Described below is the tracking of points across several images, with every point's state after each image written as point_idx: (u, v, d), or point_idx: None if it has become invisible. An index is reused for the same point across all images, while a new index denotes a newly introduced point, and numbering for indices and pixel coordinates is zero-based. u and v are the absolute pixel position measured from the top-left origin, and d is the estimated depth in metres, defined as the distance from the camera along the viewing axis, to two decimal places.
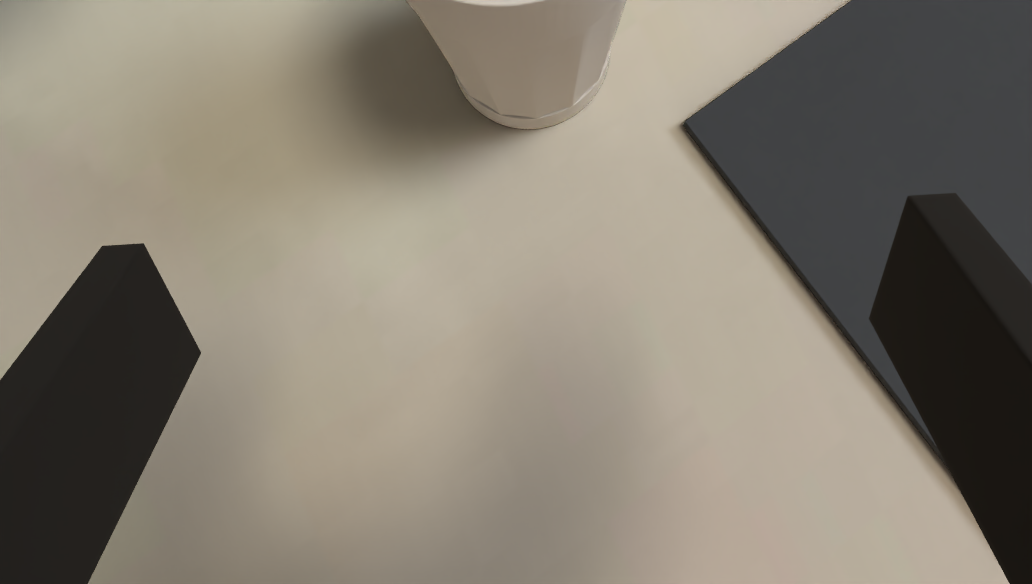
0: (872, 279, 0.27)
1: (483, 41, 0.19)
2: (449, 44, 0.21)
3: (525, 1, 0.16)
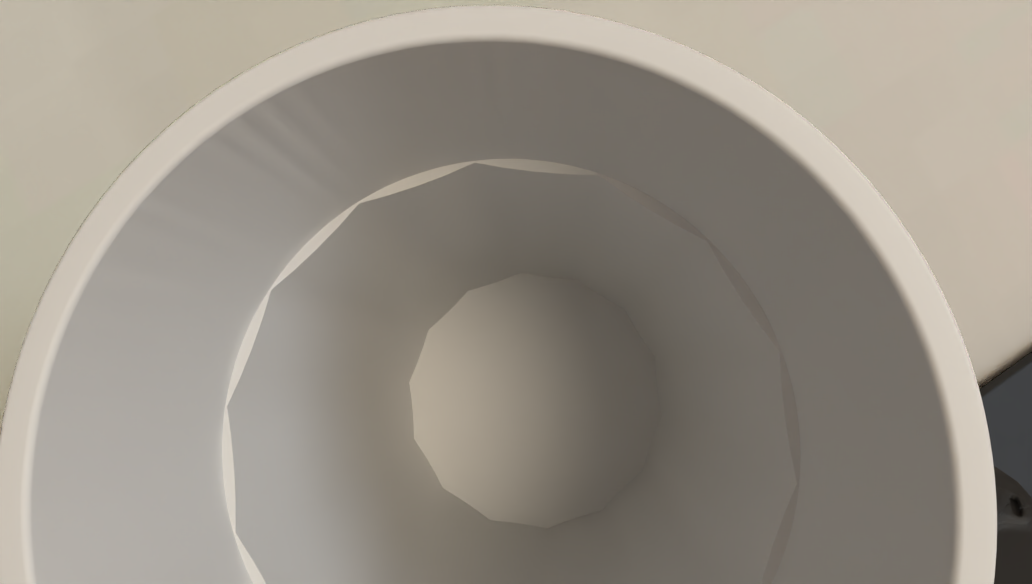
0: None
1: None
2: None
3: None
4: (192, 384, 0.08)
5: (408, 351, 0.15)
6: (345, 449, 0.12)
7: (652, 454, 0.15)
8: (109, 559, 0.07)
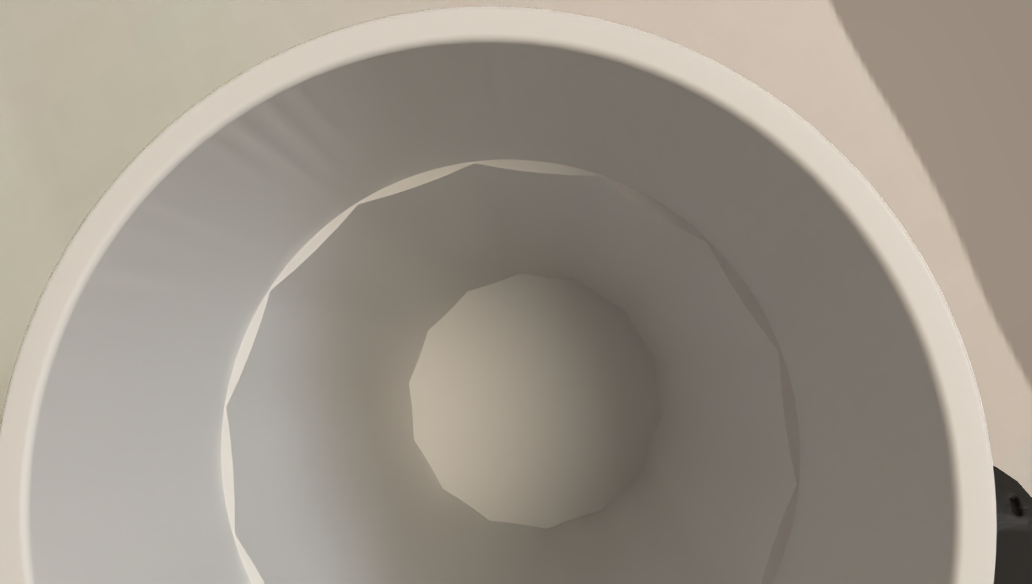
0: None
1: None
2: None
3: None
4: (190, 385, 0.08)
5: (408, 352, 0.15)
6: (345, 450, 0.12)
7: (652, 455, 0.15)
8: (108, 561, 0.07)
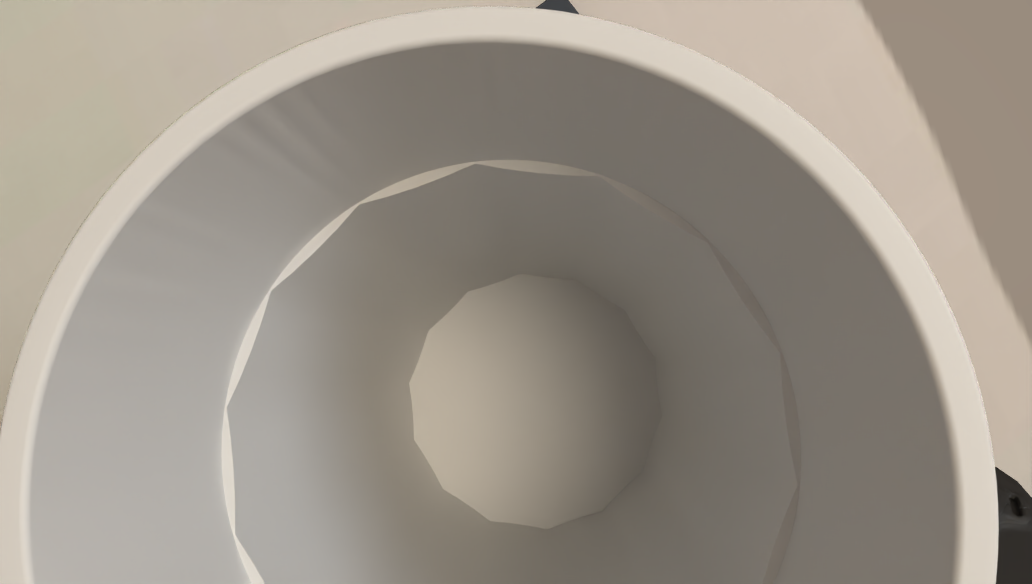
0: None
1: None
2: None
3: None
4: (191, 386, 0.08)
5: (408, 352, 0.15)
6: (345, 451, 0.12)
7: (652, 455, 0.15)
8: (108, 561, 0.07)
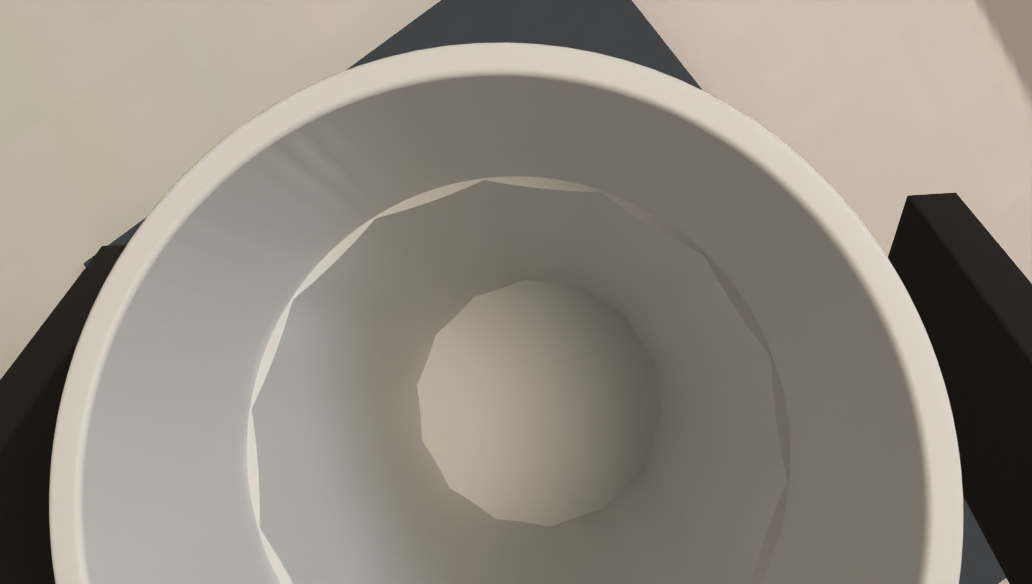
0: None
1: None
2: None
3: None
4: (221, 389, 0.09)
5: (416, 355, 0.16)
6: (359, 450, 0.13)
7: (652, 455, 0.16)
8: (149, 551, 0.07)
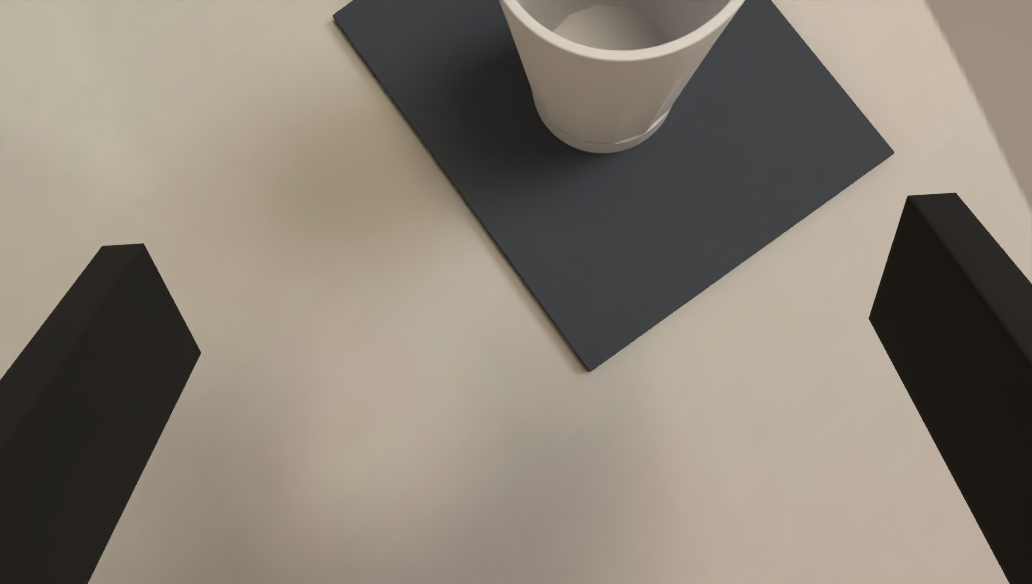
0: (477, 143, 0.32)
1: (594, 85, 0.22)
2: (554, 84, 0.24)
3: (644, 57, 0.19)
4: None
5: None
6: None
7: None
8: None
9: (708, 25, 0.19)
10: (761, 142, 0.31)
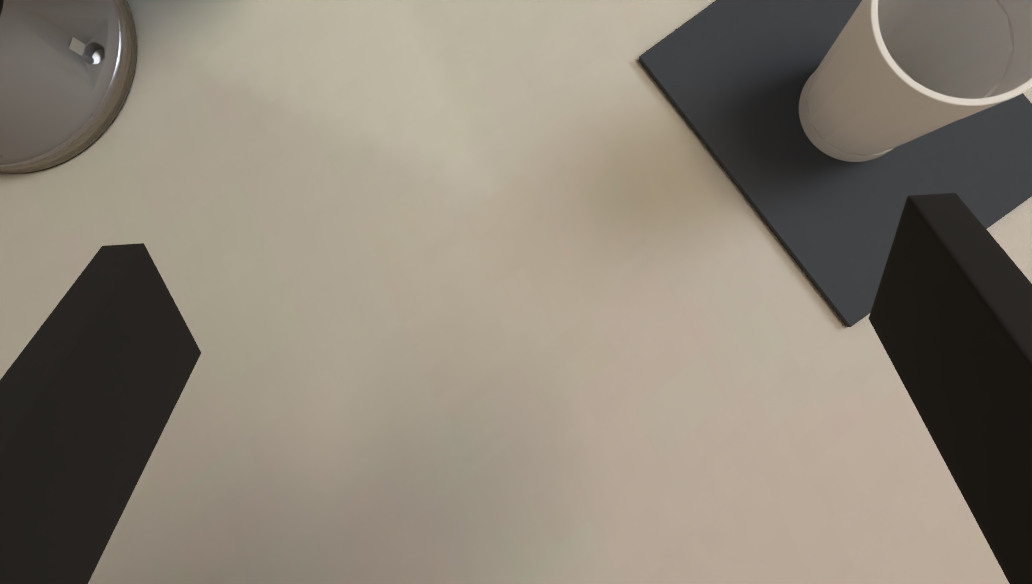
0: (757, 154, 0.42)
1: (924, 119, 0.32)
2: (875, 116, 0.34)
3: (987, 103, 0.29)
4: None
5: None
6: None
7: None
8: None
9: (1030, 82, 0.29)
10: (977, 153, 0.41)
